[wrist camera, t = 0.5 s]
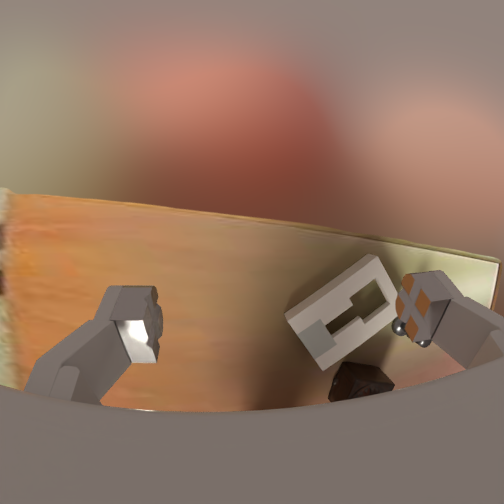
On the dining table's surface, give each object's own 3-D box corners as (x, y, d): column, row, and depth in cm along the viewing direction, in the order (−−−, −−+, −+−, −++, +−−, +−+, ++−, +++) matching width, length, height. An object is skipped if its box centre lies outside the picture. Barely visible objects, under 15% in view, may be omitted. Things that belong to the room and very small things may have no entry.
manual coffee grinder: (340, 359, 65) (369, 399, 47) (379, 366, 66) (415, 402, 48) (316, 414, 66) (336, 461, 48) (355, 418, 67) (381, 461, 49)
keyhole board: (395, 303, 64) (405, 309, 59) (317, 361, 65) (322, 371, 60) (367, 253, 63) (377, 256, 58) (283, 313, 63) (287, 321, 58)
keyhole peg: (412, 325, 65) (438, 341, 54) (396, 338, 65) (421, 356, 54) (404, 309, 65) (431, 324, 53) (388, 322, 65) (413, 339, 53)
